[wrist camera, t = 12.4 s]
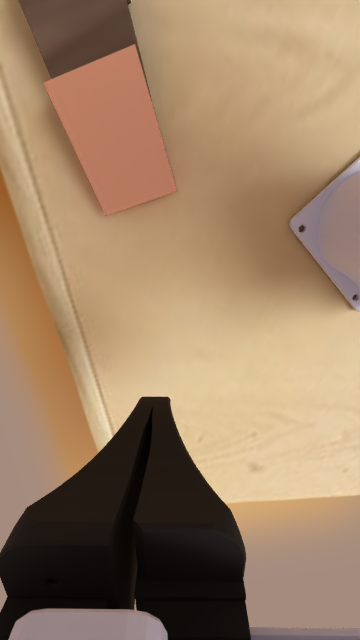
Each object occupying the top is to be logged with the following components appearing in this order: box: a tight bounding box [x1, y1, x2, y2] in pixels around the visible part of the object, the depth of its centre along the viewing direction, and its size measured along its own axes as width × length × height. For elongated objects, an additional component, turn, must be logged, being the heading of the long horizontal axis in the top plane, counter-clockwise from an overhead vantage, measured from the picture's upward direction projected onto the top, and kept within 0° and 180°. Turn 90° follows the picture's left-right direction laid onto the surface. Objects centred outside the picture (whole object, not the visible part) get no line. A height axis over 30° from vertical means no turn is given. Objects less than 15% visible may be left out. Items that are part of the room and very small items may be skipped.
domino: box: [19, 0, 152, 102], centre depth 15 cm, size 2×5×7 cm
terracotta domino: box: [43, 44, 177, 216], centre depth 16 cm, size 2×5×7 cm
